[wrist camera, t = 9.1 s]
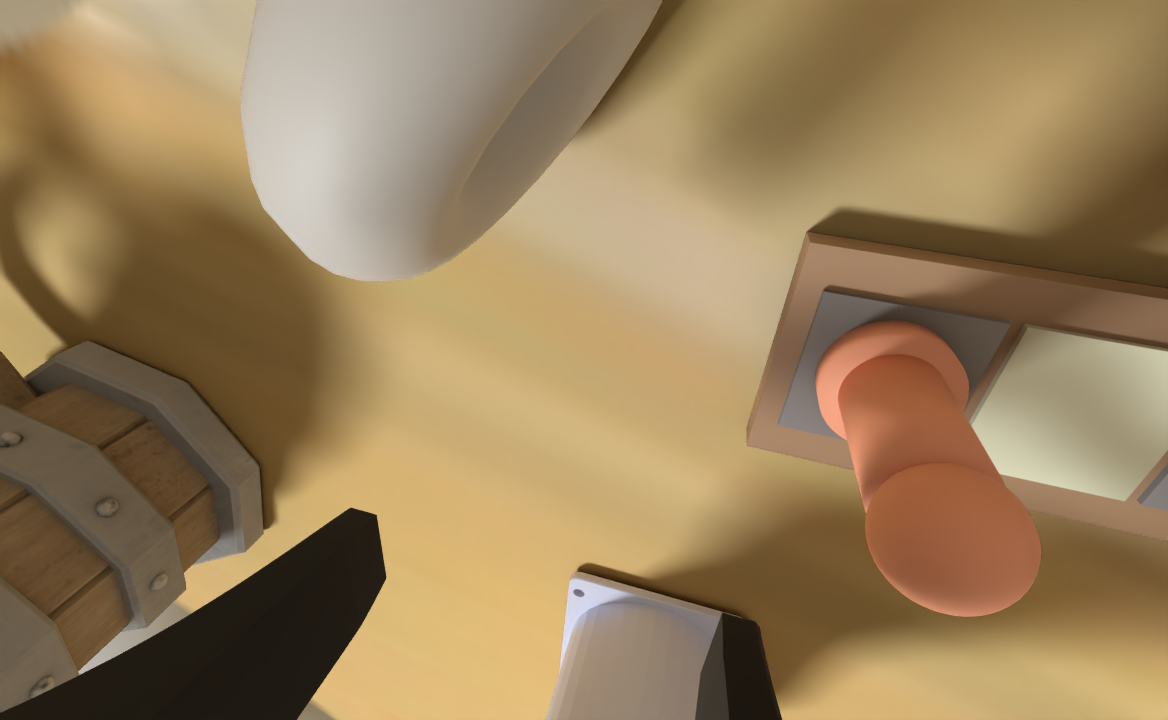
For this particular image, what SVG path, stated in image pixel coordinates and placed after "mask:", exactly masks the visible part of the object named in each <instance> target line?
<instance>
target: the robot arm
mask: <svg viewBox="0 0 1168 720" xmlns="http://www.w3.org/2000/svg"><path fill="white" fill-rule="evenodd" d="M385 580H386V572H385V566H384V559H383V553H382V546H381V540H380V534H379V527H378V521H377V515H375V514H372V513H368V512H365V511H361V510H357V509H354V508H350V509H348V510H346V511H345V512H343V513H342V514H340V515H339V516H338V517H336V518H335V519H333V520H332V521H330V522H329V523H327V524H326V525H324V526H323V527H322V528H320V529H319V530H317V531H316V532H314V533H313V534H312V535H310V536H309V537H307V538H306V539H304V540H303V541H302V542H300V543H299V544H297V545H296V546H294V547H293V548H291V549H290V550H289V551H287V552H286V553H284V554H283V555H281V556H280V557H278V558H277V559H275V560H274V561H272V562H271V563H269V564H268V565H266V566H265V567H263V568H262V569H260V570H259V571H257V572H256V573H254V574H253V575H251V576H250V577H248V578H247V579H245V580H244V581H242V582H241V583H239V584H238V585H236V586H235V587H233V588H232V589H230V590H229V591H227V592H225V593H224V594H222V595H221V596H219V597H217V598H216V599H214V600H212V601H211V602H209V603H208V604H206V605H204V606H203V607H201V608H200V609H198V610H196V611H195V612H193V613H192V614H190V615H188V616H187V617H185V618H184V619H182V620H180V621H178V622H177V623H175V624H173V625H172V626H170V627H168V628H167V629H165V630H163V631H161V632H159V633H158V634H156V635H154V636H152V637H151V638H149V639H147V640H145V641H143V642H142V643H140V644H138V645H136V646H134V647H132V648H131V649H129V650H127V651H125V652H123V653H122V654H120V655H118V656H116V657H115V658H112V659H110V660H108V661H106V662H104V663H102V664H100V665H98V666H96V667H95V668H93V669H91V670H89V671H87V672H85V673H83V674H81V675H79V676H77V677H75V678H73V679H71V680H69V681H67V682H65V683H62V684H60V685H58V686H56V687H54V688H52V689H50V690H48V691H46V692H44V693H42V694H40V695H38V696H36V697H34V698H32V699H30V700H27V701H25V702H23V703H21V704H18V705H16V706H14V707H12V708H9V709H7V710H5V711H3V712H0V720H297V718H298V717H299V715H300V714H301V713H302V711H303V710H304V708H305V707H306V705H307V704H308V702H309V701H310V700H311V698H312V697H313V695H314V694H315V692H316V691H317V689H318V688H319V687H320V685H321V684H322V682H323V681H324V679H325V678H326V676H327V675H328V674H329V672H330V671H331V669H332V668H333V666H334V665H335V663H336V662H337V660H338V659H339V658H340V656H341V655H342V653H343V652H344V650H345V649H346V647H347V646H348V644H349V643H350V641H351V640H352V638H353V637H354V635H355V634H356V632H357V631H358V629H359V628H360V626H361V625H362V623H363V621H364V619H365V618H366V616H367V614H368V612H369V610H370V609H371V607H372V605H373V603H374V601H375V599H376V597H377V595H378V593H379V591H380V590H381V588H382V586H383V584H384V582H385ZM545 720H782V717H781V714H780V710H779V707H778V703H777V700H776V696H775V692H774V689H773V685H772V681H771V677H770V673H769V669H768V665H767V661H766V656H765V652H764V647H763V643H762V638H761V632H760V627H759V626H758V625H757V623H756V622H754V621H751V620H747V619H744V618H742V617H739V616H736V615H732V614H729V613H725V612H721V611H718V610H714V609H711V608H707V607H704V606H700V605H697V604H693V603H690V602H686V601H682V600H679V599H675V598H672V597H668V596H665V595H661V594H658V593H654V592H651V591H647V590H643V589H640V588H636V587H633V586H629V585H626V584H622V583H619V582H615V581H612V580H608V579H604V578H601V577H597V576H594V575H590V574H587V573H583V572H575V573H574V574H572V576H571V579H570V582H569V590H568V599H567V608H566V617H565V626H564V634H563V643H562V652H561V661H560V670H559V675H558V679H557V682H556V685H555V688H554V692H553V695H552V698H551V702H550V705H549V708H548V712H547V715H546V718H545Z"/></svg>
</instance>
